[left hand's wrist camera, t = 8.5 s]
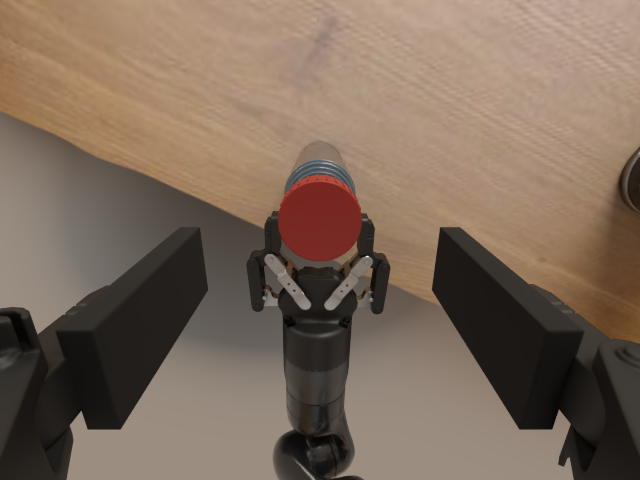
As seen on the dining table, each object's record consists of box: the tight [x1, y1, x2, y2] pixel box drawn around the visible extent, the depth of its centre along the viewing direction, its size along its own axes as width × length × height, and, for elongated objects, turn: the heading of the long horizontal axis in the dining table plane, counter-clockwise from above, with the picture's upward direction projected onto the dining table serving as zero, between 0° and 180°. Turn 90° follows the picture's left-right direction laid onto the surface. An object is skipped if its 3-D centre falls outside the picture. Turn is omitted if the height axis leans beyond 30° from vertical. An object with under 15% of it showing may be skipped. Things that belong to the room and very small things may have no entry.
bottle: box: [285, 141, 355, 194], centre depth 28 cm, size 5×5×21 cm
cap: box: [278, 174, 362, 261], centre depth 19 cm, size 4×4×2 cm
